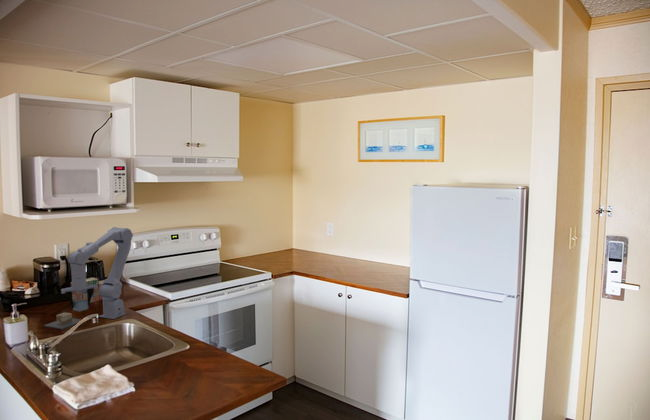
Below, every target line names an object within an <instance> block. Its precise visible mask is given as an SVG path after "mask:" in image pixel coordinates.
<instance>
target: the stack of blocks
mask: <svg viewBox="0 0 650 420" xmlns="http://www.w3.org/2000/svg"><path fill="white" fill-rule="evenodd" d="M104 280H105V279H104ZM104 280H100V279H99V278H96V277H89V278H86V285H93V284H97V289H94V293H93V295H92V297H91V300H90V304H91V303H95V302H98V301H103V299H102V296H100V295H99V288H100V286H101V285H102V283H103V281H104ZM70 287H72V281H71V282H70ZM87 298H88V297H87V290H84V291H76V292H72V299H73V301H77V300H80V299H83V300H87Z"/></svg>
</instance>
